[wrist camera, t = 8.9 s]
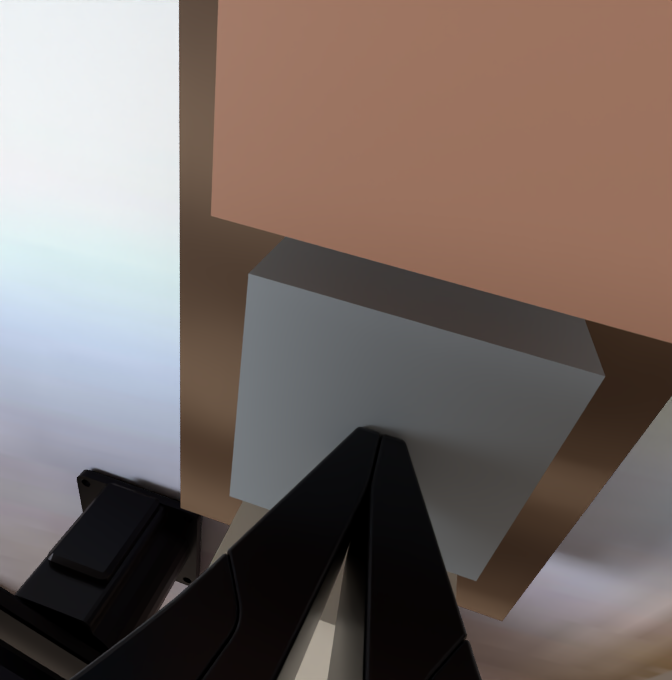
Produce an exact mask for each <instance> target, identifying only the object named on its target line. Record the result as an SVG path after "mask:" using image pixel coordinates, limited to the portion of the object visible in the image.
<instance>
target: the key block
mask: <svg viewBox="0 0 672 680" xmlns="http://www.w3.org/2000/svg"><path fill="white" fill-rule="evenodd" d="M217 24H218V0H179V128H180V478H181V508H182V509H185V510H188V511H191V512H193V513H196V514H199V515H202V516H205V517H208V518H210V519H213V520H216V521H219V522H222V523H225V524H227V525H231V523H232V521H233V519H234V517H235V515H236V513H237V511H238V510H239V508H240V506H241V504H242V502H243V501H242V500H239V499H236V498H234V497H231V496H230V484H231V472H232V461H233V449H234V437H235V426H236V414H237V402H238V391H239V379H240V368H241V356H242V344H243V333H244V321H245V309H246V298H247V286H248V274H249V273H250V272H251V271H252V270H253V269H254V268H255V267H256V266H257V265H258V264H259V263H260V262H261V261H262V260H263V259H264V258H265V257H266V256H267V255H268V254H269V253H270V252H271V251H272V250H273V249H274V248H275V247H276V246H277V245H278V244H279V243H280V242H281V241H282V240H283V239H284V238H285V236H282V235H278V234H275V233H271V232H267V231H264V230H260V229H256V228H253V227H249V226H246V225H242V224H238V223H235V222H231V221H228V220H224V219H220V218H217V217H213V216H211V197H212V168H213V139H214V110H215V81H216V52H217ZM585 322H586V325H587V327H588V330H589V333H590V336H591V338H592V341H593V344H594V347H595V349H596V352H597V355H598V357H599V360H600V363H601V366H602V368H603V371H604V374H605V378H604V379H603V381H602V383H601V384H600V386H599V387H598V389H597V391H596V392H595V394H594V395H593V397H592V398H591V400H590V402H589V403H588V405H587V406H586V408H585V410H584V411H583V413H582V414H581V416H580V417H579V419H578V421H577V422H576V424H575V425H574V427H573V429H572V430H571V432H570V433H569V435H568V436H567V438H566V440H565V441H564V443H563V444H562V446H561V448H560V449H559V451H558V452H557V454H556V455H555V457H554V459H553V460H552V462H551V463H550V465H549V467H548V468H547V470H546V471H545V473H544V474H543V476H542V478H541V479H540V481H539V482H538V484H537V486H536V487H535V489H534V490H533V492H532V493H531V495H530V497H529V498H528V500H527V501H526V503H525V505H524V506H523V508H522V509H521V511H520V512H519V514H518V516H517V517H516V519H515V520H514V522H513V524H512V525H511V527H510V528H509V530H508V531H507V533H506V535H505V536H504V538H503V539H502V541H501V543H500V544H499V546H498V547H497V549H496V550H495V552H494V554H493V555H492V557H491V558H490V560H489V562H488V563H487V565H486V566H485V568H484V569H483V571H482V573H481V574H480V576H479V577H478V579H477V581H474V580H471V579H468V578H465V577H463V576H460V575H457V588H456V602H457V605H458V606H460V607H463V608H466V609H469V610H472V611H475V612H477V613H480V614H483V615H486V616H489V617H492V618H494V619H497V620H500V621H503V619H504V618H505V617H506V615H507V614H508V613H509V611H510V610H511V609H512V608H513V606H514V605H515V604H516V602H517V601H518V600H519V598H520V597H521V596H522V594H523V593H524V592H525V590H526V589H527V588H528V586H529V585H530V584H531V582H532V581H533V580H534V578H535V577H536V576H537V574H538V573H539V572H540V570H541V569H542V568H543V566H544V565H545V564H546V562H547V561H548V560H549V558H550V557H551V556H552V554H553V553H554V552H555V550H556V549H557V548H558V546H559V545H560V544H561V542H562V541H563V540H564V538H565V537H566V536H567V534H568V533H569V532H570V530H571V529H572V528H573V526H574V525H575V524H576V522H577V521H578V520H579V518H580V517H581V516H582V514H583V513H584V512H585V510H586V509H587V508H588V506H589V505H590V504H591V502H592V501H593V500H594V498H595V497H596V496H597V494H598V493H599V492H600V490H601V489H602V488H603V486H604V485H605V484H606V482H607V481H608V480H609V479H610V477H611V476H612V475H613V473H614V472H615V471H616V469H617V468H618V467H619V465H620V464H621V463H622V461H623V460H624V459H625V457H626V456H627V455H628V453H629V452H630V451H631V449H632V448H633V447H634V445H635V444H636V443H637V441H638V440H639V439H640V437H641V436H642V435H643V433H644V432H645V431H646V429H647V428H648V427H649V425H650V424H651V423H652V421H653V420H654V419H655V417H656V416H657V415H658V413H659V412H660V411H661V409H662V408H663V407H664V405H665V404H666V403H667V401H668V400H669V399H670V397H671V396H672V343H669V342H665V341H662V340H658V339H654V338H651V337H647V336H644V335H640V334H636V333H633V332H629V331H625V330H622V329H618V328H615V327H611V326H607V325H604V324H600V323H597V322H593V321H589V320H586V319H585Z"/></svg>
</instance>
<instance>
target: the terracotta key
mask: <svg viewBox="0 0 672 680" xmlns="http://www.w3.org/2000/svg"><path fill="white" fill-rule="evenodd" d="M211 216H213V217H217V218H220V219H224V220H228V221H231V222H235V223H238V224H242V225H246V226H249V227H253V228H256V229H260V230H264V231H267V232H271V233H275V234H278V235H282V236H285V237H289V238H293V239H296V240H300V241H303V242H307V243H311V244H314V245H318V246H322V247H325V248H329V249H332V250H336V251H340V252H343V253H347V254H351V255H354V256H358V257H361V258H365V259H369V260H372V261H376V262H379V263H383V264H387V265H390V266H394V267H398V268H401V269H405V270H408V271H412V272H416V273H419V274H423V275H426V276H430V277H434V278H437V279H441V280H445V281H448V282H452V283H455V284H459V285H463V286H466V287H470V288H474V289H477V290H481V291H484V292H488V293H492V294H495V295H499V296H502V297H506V298H510V299H513V300H517V301H521V302H524V303H528V304H531V305H535V306H539V307H542V308H546V309H549V310H553V311H557V312H560V313H564V314H568V315H571V316H575V317H578V318H582V319H586V320H589V321H593V322H597V323H600V324H604V325H607V326H611V327H615V328H618V329H622V330H625V331H629V332H633V333H636V334H640V335H644V336H647V337H651V338H654V339H658V340H662V341H665V342H669V343H672V0H218V24H217V52H216V81H215V110H214V139H213V168H212V197H211Z"/></svg>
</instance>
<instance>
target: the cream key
mask: <svg viewBox="0 0 672 680" xmlns="http://www.w3.org/2000/svg"><path fill="white" fill-rule="evenodd" d="M268 511H269V510H268V509H265V508H262V507H260V506H257V505H254V504H251V503H248V502H245V501H243V502H242V504H241V506H240V508H239V510H238V511H237V513H236V515H235V517H234V519H233V521H232V523H231V525H230V527H229V529H228V531H227V533H226V535H225V536H224V538H223V540H222V542H221V544H220V546H219V548H218V550H217V552H216V554H215V556H214V558H213V560H212V562H211V563H210V565H209V567H210V566H211V565H212V564H213V563H214V562H215V561H216V560H217V559H218V558H219V557H220V556H221V555H223V554H225V553H226V554H227V551H228V549H229V548H230V547H231V546H232V545H233V544H234V543H236V542H237V541H238V540H239V539H240V538H241V537H242V536H243V535H244V534H245V533H246V532H247V531H248V530H249V529H250V528H251V527H252V526H253V525H255V524H256V523H257V522H258V521H259V520H260V519H261V518H262V517H263V516H264V515H265V514H266V513H267V512H268ZM348 548H349V547H348ZM347 552H348V550H347ZM346 556H347V553H346ZM346 556H345V559H344V561H343V564H342V566H341V569H340V572H339V574H338V576H337V579H336V581H335V584H334V586H333V588H332V591H331V593H330V596H329V598H328V601H327V603H326V605H325V608H324V610H323V613H322V615H321V617H320V620H319V622H318V625H317V627H316V629H315V632H314V634H313V637H312V639H311V641H310V644H309V646H308V649H307V651H306V653H305V656H304V658H303V661H302V663H301V665H300V668H299V670H298V673H297V675H296V678H295V680H327V678H328V672H329V665H330V658H331V652H332V645H333V638H334V632H335V625H336V619H337V612H338V605H339V599H340V592H341V585H342V579H343V572H344V566H345V561H346ZM209 567H208V568H209ZM447 573H448V577H449V580H450V583H451V586H452V589H453V592H454V596H455V599H456V588H457V574H454V573H451V572H448V571H447Z"/></svg>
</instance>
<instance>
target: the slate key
mask: <svg viewBox="0 0 672 680" xmlns="http://www.w3.org/2000/svg"><path fill="white" fill-rule="evenodd" d="M604 378H605V374H604V371H603V368H602V366H601V363H600V360H599V357H598V355H597V352H596V349H595V347H594V344H593V341H592V338H591V336H590V333H589V330H588V327H587V325H586V322H585V319H582V318H578V317H575V316H571V315H568V314H564V313H560V312H557V311H553V310H549V309H546V308H542V307H539V306H535V305H531V304H528V303H524V302H521V301H517V300H513V299H510V298H506V297H502V296H499V295H495V294H492V293H488V292H484V291H481V290H477V289H474V288H470V287H466V286H463V285H459V284H455V283H452V282H448V281H445V280H441V279H437V278H434V277H430V276H426V275H423V274H419V273H416V272H412V271H408V270H405V269H401V268H398V267H394V266H390V265H387V264H383V263H379V262H376V261H372V260H369V259H365V258H361V257H358V256H354V255H351V254H347V253H343V252H340V251H336V250H332V249H329V248H325V247H322V246H318V245H314V244H311V243H307V242H303V241H300V240H296V239H293V238H289V237H285V238H284V239H283V240H282V241H281V242H280V243H279V244H278V245H277V246H276V247H275V248H274V249H273V250H272V251H271V252H270V253H269V254H268V255H267V256H266V257H265V258H264V259H263V260H262V261H261V262H260V263H259V264H258V265H257V266H256V267H255V268H254V269H253V270H252V271H251V272H250V273H249V274H248V286H247V298H246V309H245V321H244V333H243V344H242V356H241V368H240V379H239V391H238V402H237V414H236V426H235V437H234V449H233V461H232V472H231V484H230V496H231V497H234V498H236V499H239V500H242V501H245V502H248V503H251V504H254V505H257V506H260V507H262V508H265V509H268V510H270V509H271V508H272V507H273V506H275V505H276V504H277V503H278V502H279V501H280V500H281V499H282V498H283V497H284V496H285V495H286V494H287V493H288V492H289V491H290V490H291V489H292V488H294V487H295V486H296V485H297V484H298V483H299V482H300V481H301V480H302V479H303V478H304V477H305V476H306V475H307V474H308V473H309V472H310V471H311V470H313V469H314V468H315V467H316V466H317V465H318V464H319V463H320V462H321V461H322V460H323V459H324V458H325V457H326V456H327V455H328V454H329V453H330V452H331V451H333V450H334V449H335V448H336V447H337V446H338V445H339V444H340V443H341V442H342V441H343V440H344V439H345V438H346V437H347V436H348V435H349V434H350V433H352V432H353V431H354V430H355V429H356V428H357V427H364V428H367V429H371V430H374V431H377V432H379V433H380V436H382V435H384V434H386V435H389V436H393V437H396V438H399V439H402V440H404V441H405V442H406V445H407V447H408V451H409V454H410V457H411V460H412V463H413V466H414V470H415V473H416V476H417V479H418V482H419V485H420V488H421V492H422V495H423V498H424V501H425V504H426V507H427V510H428V514H429V517H430V520H431V523H432V526H433V529H434V533H435V536H436V539H437V542H438V545H439V548H440V551H441V555H442V558H443V561H444V564H445V567H446V570H447V571H448V572H451V573H454V574H457V575H460V576H463V577H465V578H468V579H471V580H474V581H477V579H478V577H479V576H480V574H481V573H482V571H483V569H484V568H485V566H486V565H487V563H488V562H489V560H490V558H491V557H492V555H493V554H494V552H495V550H496V549H497V547H498V546H499V544H500V543H501V541H502V539H503V538H504V536H505V535H506V533H507V531H508V530H509V528H510V527H511V525H512V524H513V522H514V520H515V519H516V517H517V516H518V514H519V512H520V511H521V509H522V508H523V506H524V505H525V503H526V501H527V500H528V498H529V497H530V495H531V493H532V492H533V490H534V489H535V487H536V486H537V484H538V482H539V481H540V479H541V478H542V476H543V474H544V473H545V471H546V470H547V468H548V467H549V465H550V463H551V462H552V460H553V459H554V457H555V455H556V454H557V452H558V451H559V449H560V448H561V446H562V444H563V443H564V441H565V440H566V438H567V436H568V435H569V433H570V432H571V430H572V429H573V427H574V425H575V424H576V422H577V421H578V419H579V417H580V416H581V414H582V413H583V411H584V410H585V408H586V406H587V405H588V403H589V402H590V400H591V398H592V397H593V395H594V394H595V392H596V391H597V389H598V387H599V386H600V384H601V383H602V381H603V379H604ZM380 438H381V437H380Z"/></svg>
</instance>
